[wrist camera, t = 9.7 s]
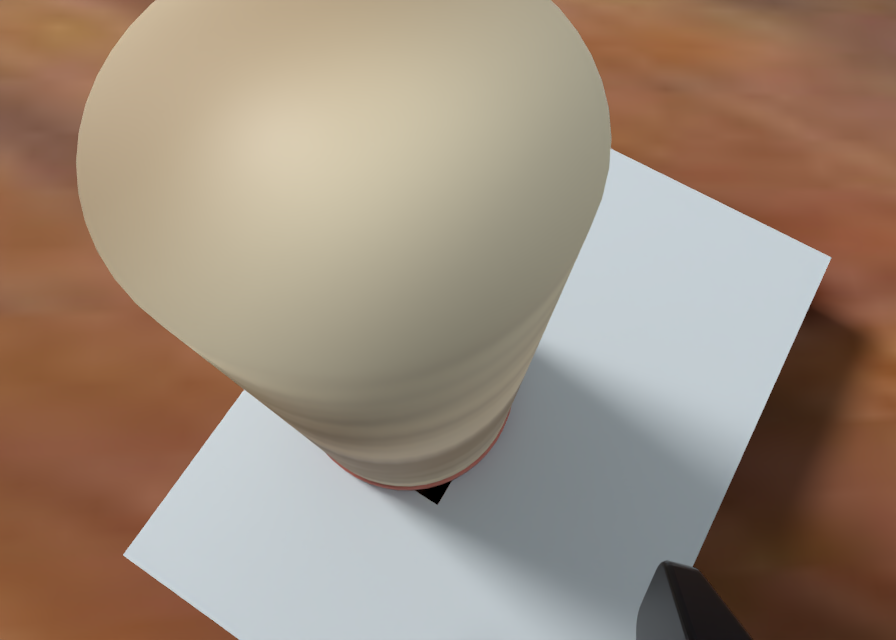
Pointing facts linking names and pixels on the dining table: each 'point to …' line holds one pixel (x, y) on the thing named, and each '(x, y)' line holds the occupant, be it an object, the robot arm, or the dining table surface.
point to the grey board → (518, 455)
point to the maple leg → (352, 206)
